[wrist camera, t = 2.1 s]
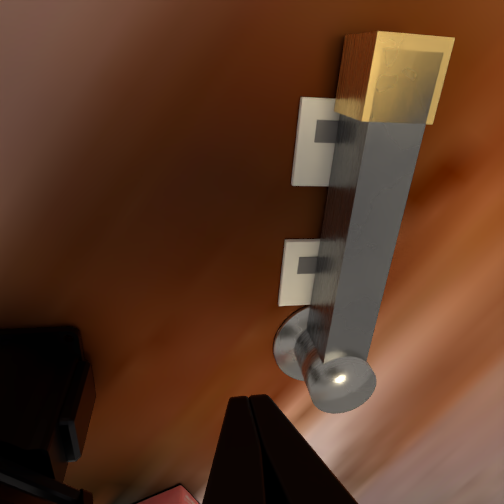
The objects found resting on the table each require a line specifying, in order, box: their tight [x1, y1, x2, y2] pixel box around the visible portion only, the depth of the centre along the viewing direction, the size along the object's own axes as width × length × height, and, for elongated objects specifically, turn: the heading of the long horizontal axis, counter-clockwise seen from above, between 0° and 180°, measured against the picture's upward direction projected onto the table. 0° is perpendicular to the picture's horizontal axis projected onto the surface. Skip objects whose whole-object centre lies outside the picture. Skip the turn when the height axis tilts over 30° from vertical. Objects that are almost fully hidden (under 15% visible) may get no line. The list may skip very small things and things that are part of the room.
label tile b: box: [291, 97, 340, 186], centre depth 19 cm, size 6×4×1 cm, turn 86°
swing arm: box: [294, 31, 455, 413], centre depth 19 cm, size 18×4×4 cm, turn 176°
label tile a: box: [278, 239, 320, 306], centre depth 22 cm, size 6×4×1 cm, turn 86°
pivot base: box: [273, 305, 310, 381], centre depth 24 cm, size 6×6×1 cm
